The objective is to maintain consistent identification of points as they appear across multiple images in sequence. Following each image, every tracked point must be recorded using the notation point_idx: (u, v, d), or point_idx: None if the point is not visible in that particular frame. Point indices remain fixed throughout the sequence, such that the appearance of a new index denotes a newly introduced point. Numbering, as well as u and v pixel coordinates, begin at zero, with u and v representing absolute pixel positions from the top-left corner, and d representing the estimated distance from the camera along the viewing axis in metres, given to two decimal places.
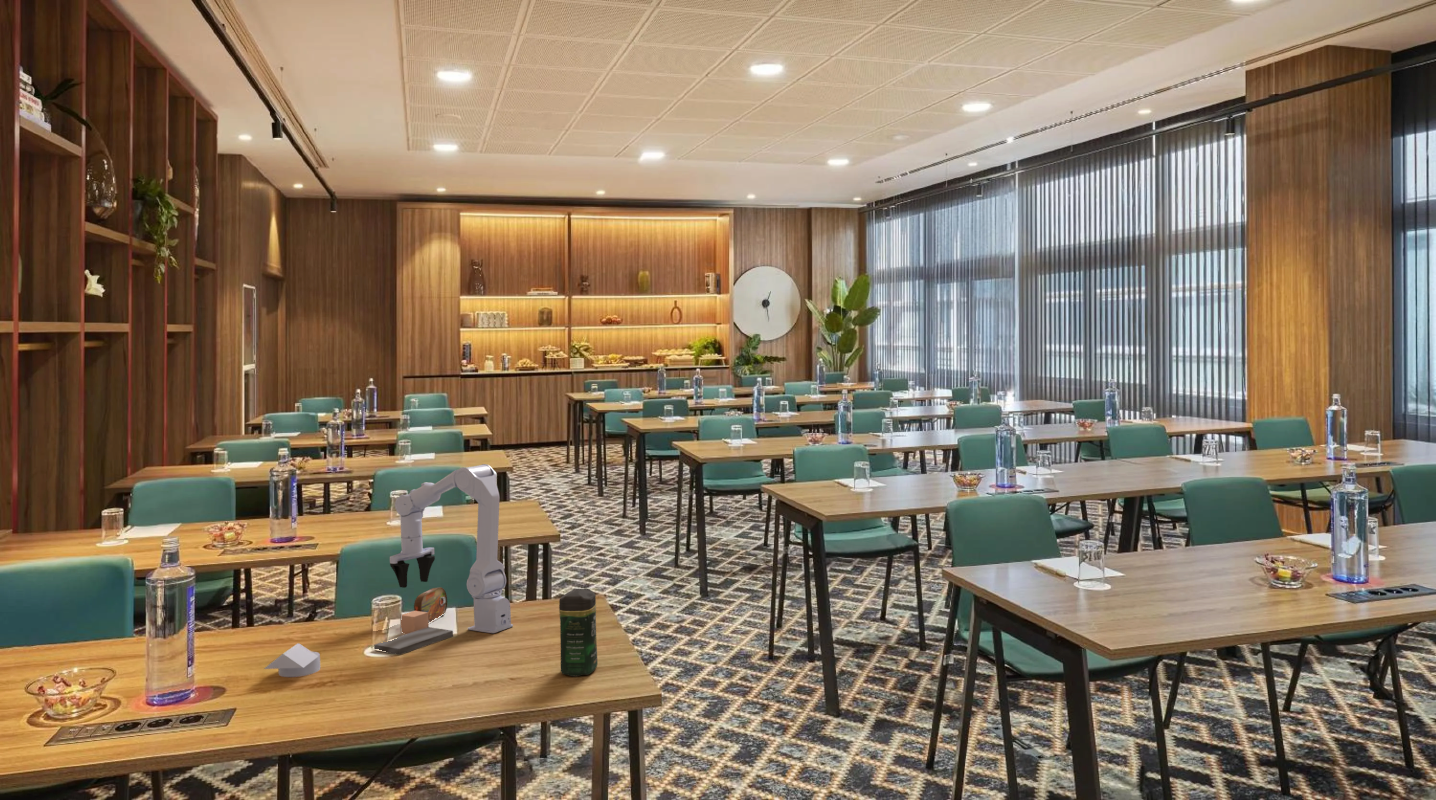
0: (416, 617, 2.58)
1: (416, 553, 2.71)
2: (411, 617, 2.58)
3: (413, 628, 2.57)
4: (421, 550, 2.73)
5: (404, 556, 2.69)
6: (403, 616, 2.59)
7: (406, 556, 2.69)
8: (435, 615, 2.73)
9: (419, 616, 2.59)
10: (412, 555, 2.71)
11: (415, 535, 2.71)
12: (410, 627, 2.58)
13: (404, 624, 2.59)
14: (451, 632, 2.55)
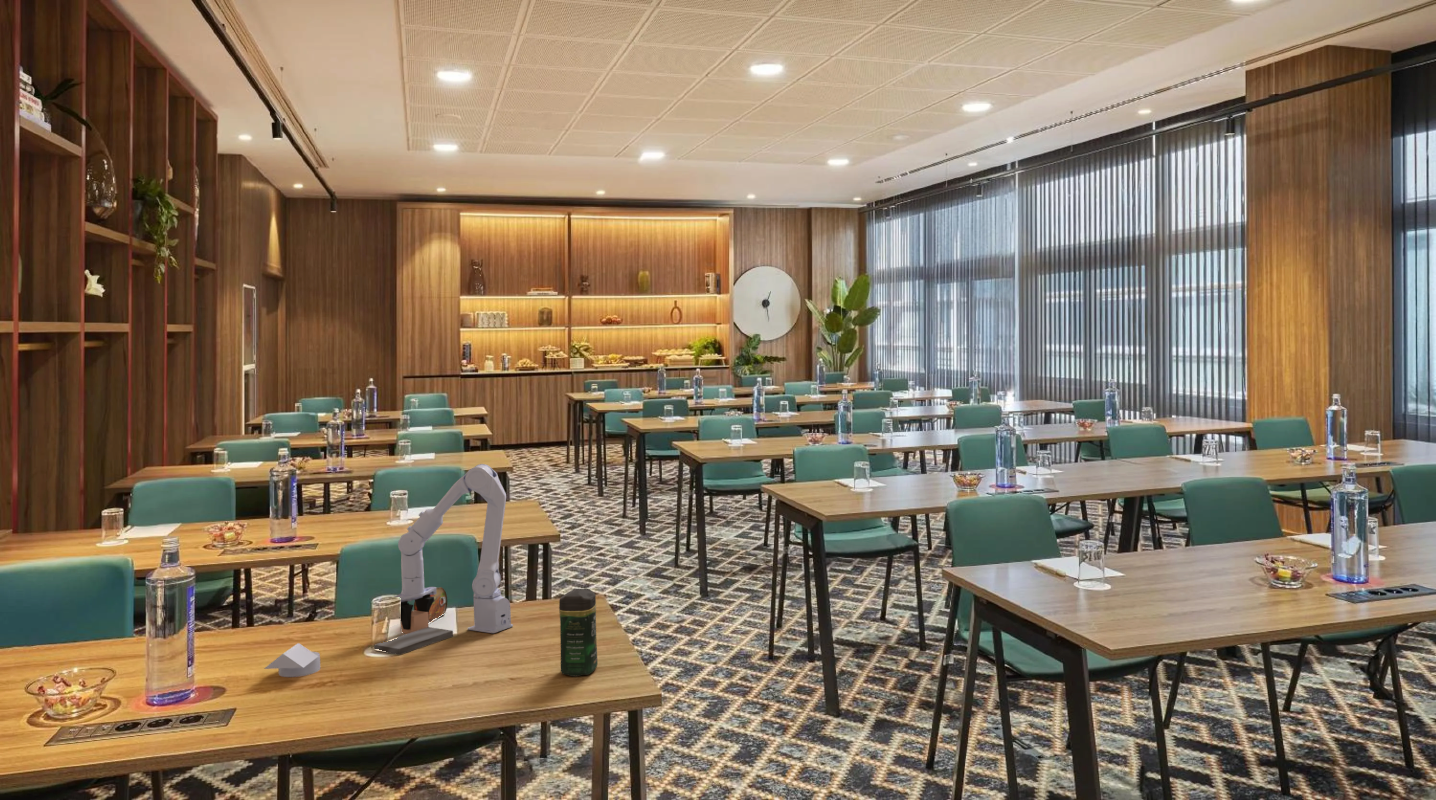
0: (416, 617, 2.58)
1: (417, 594, 2.58)
2: (411, 617, 2.58)
3: (413, 628, 2.57)
4: (423, 591, 2.60)
5: (405, 598, 2.56)
6: None
7: (407, 598, 2.56)
8: (435, 615, 2.73)
9: (419, 616, 2.59)
10: (413, 596, 2.57)
11: (421, 574, 2.59)
12: None
13: None
14: (451, 632, 2.55)
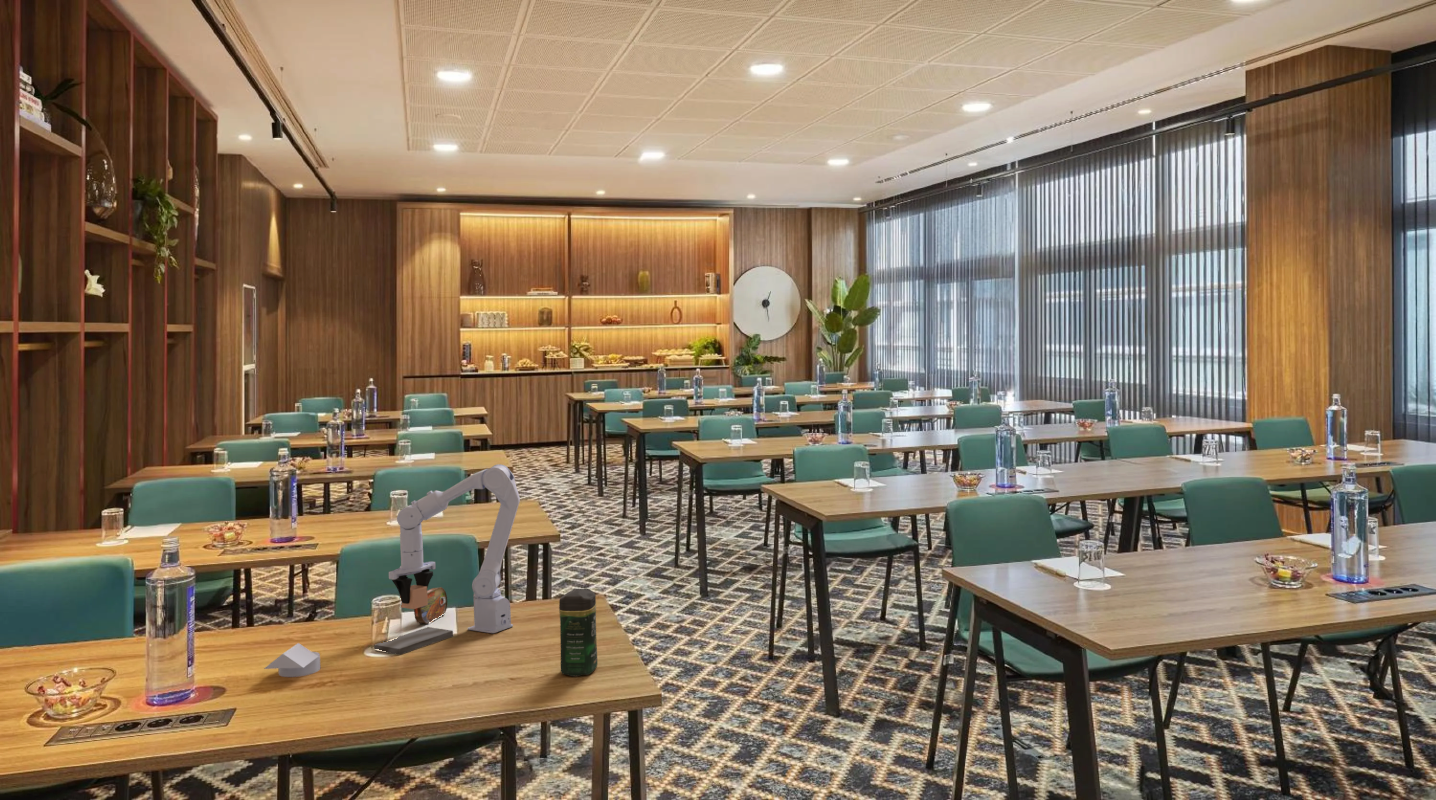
0: (415, 591, 2.58)
1: (416, 568, 2.58)
2: (410, 591, 2.57)
3: (412, 602, 2.57)
4: (422, 565, 2.60)
5: (404, 571, 2.56)
6: None
7: (406, 571, 2.56)
8: (435, 615, 2.73)
9: (418, 590, 2.59)
10: (412, 570, 2.57)
11: (420, 548, 2.59)
12: None
13: None
14: (451, 632, 2.55)
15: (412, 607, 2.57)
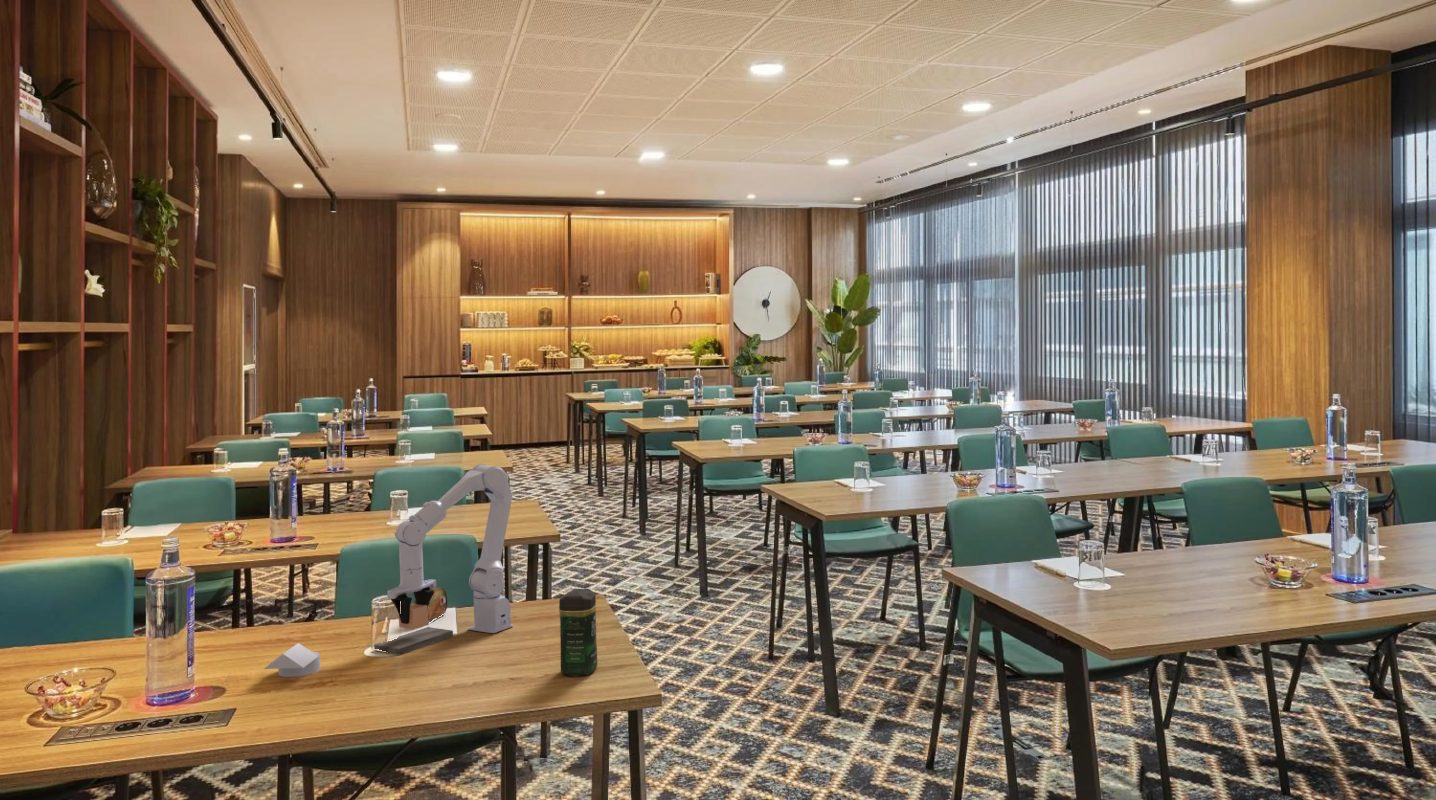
0: (415, 610, 2.47)
1: (416, 587, 2.47)
2: None
3: (412, 622, 2.46)
4: (422, 583, 2.48)
5: (403, 590, 2.44)
6: None
7: (405, 590, 2.45)
8: (435, 615, 2.73)
9: (418, 609, 2.48)
10: (412, 589, 2.46)
11: None
12: (409, 620, 2.47)
13: None
14: (451, 632, 2.55)
15: (412, 627, 2.46)
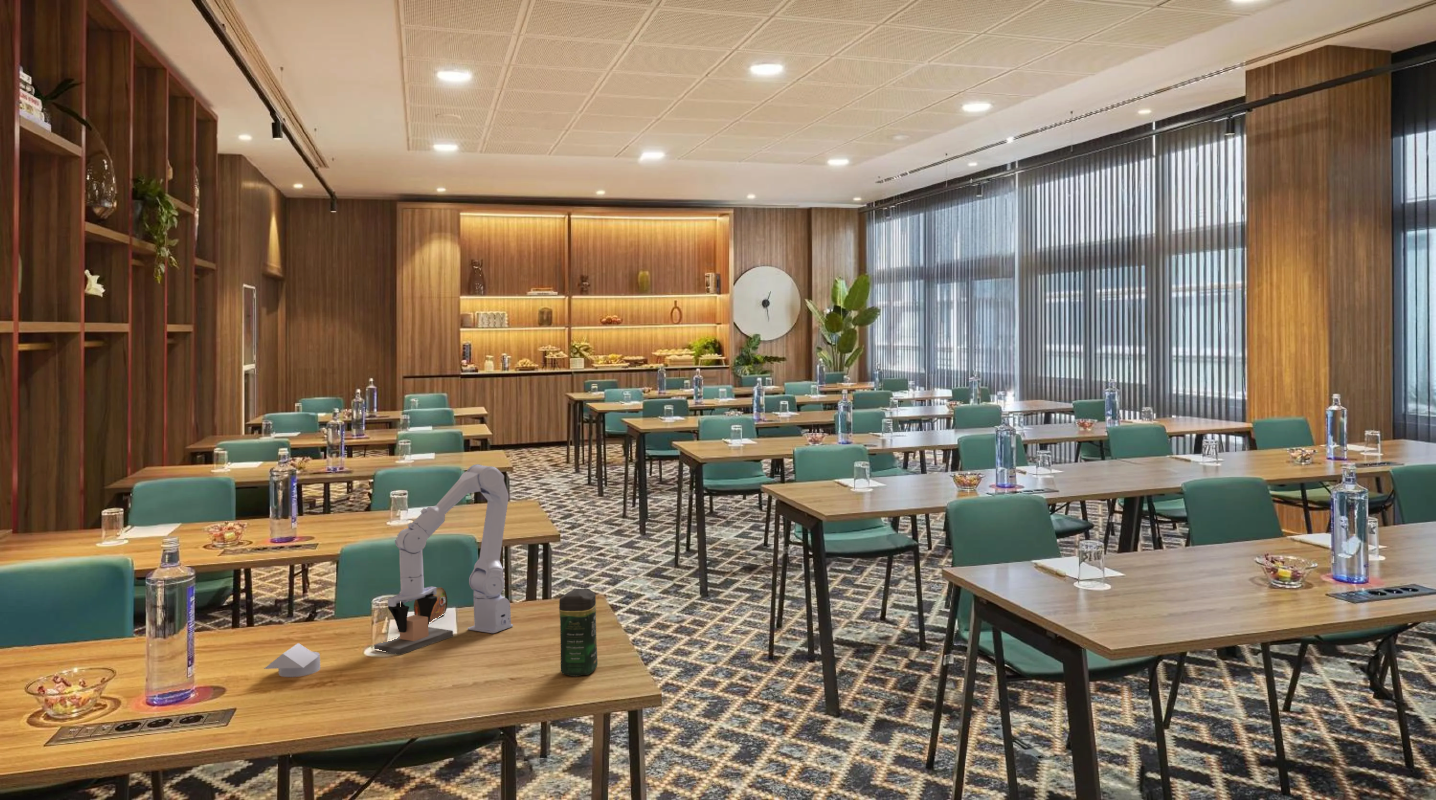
0: (415, 622, 2.47)
1: (417, 594, 2.47)
2: (410, 622, 2.46)
3: (412, 633, 2.46)
4: (422, 591, 2.49)
5: (404, 598, 2.45)
6: None
7: (406, 598, 2.45)
8: (435, 615, 2.73)
9: (418, 621, 2.48)
10: (412, 597, 2.46)
11: None
12: (409, 632, 2.47)
13: None
14: (451, 632, 2.55)
15: (412, 639, 2.46)
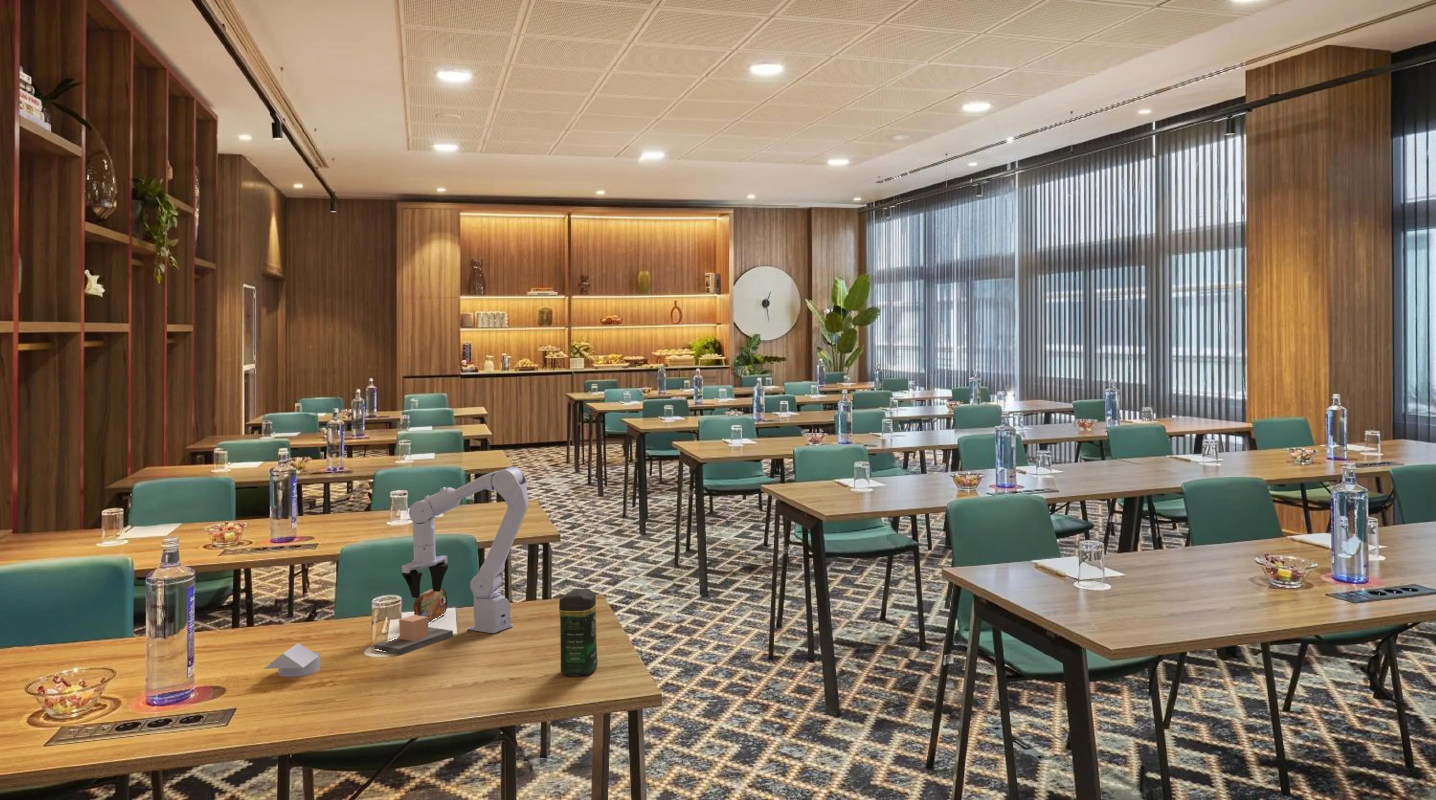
0: (415, 622, 2.47)
1: (429, 562, 2.61)
2: (410, 622, 2.46)
3: (412, 633, 2.46)
4: (434, 559, 2.62)
5: (417, 565, 2.58)
6: (402, 621, 2.48)
7: (419, 565, 2.59)
8: (435, 615, 2.73)
9: (418, 621, 2.48)
10: (425, 564, 2.60)
11: (432, 542, 2.61)
12: (409, 632, 2.47)
13: (403, 629, 2.48)
14: (451, 632, 2.55)
15: (412, 639, 2.46)
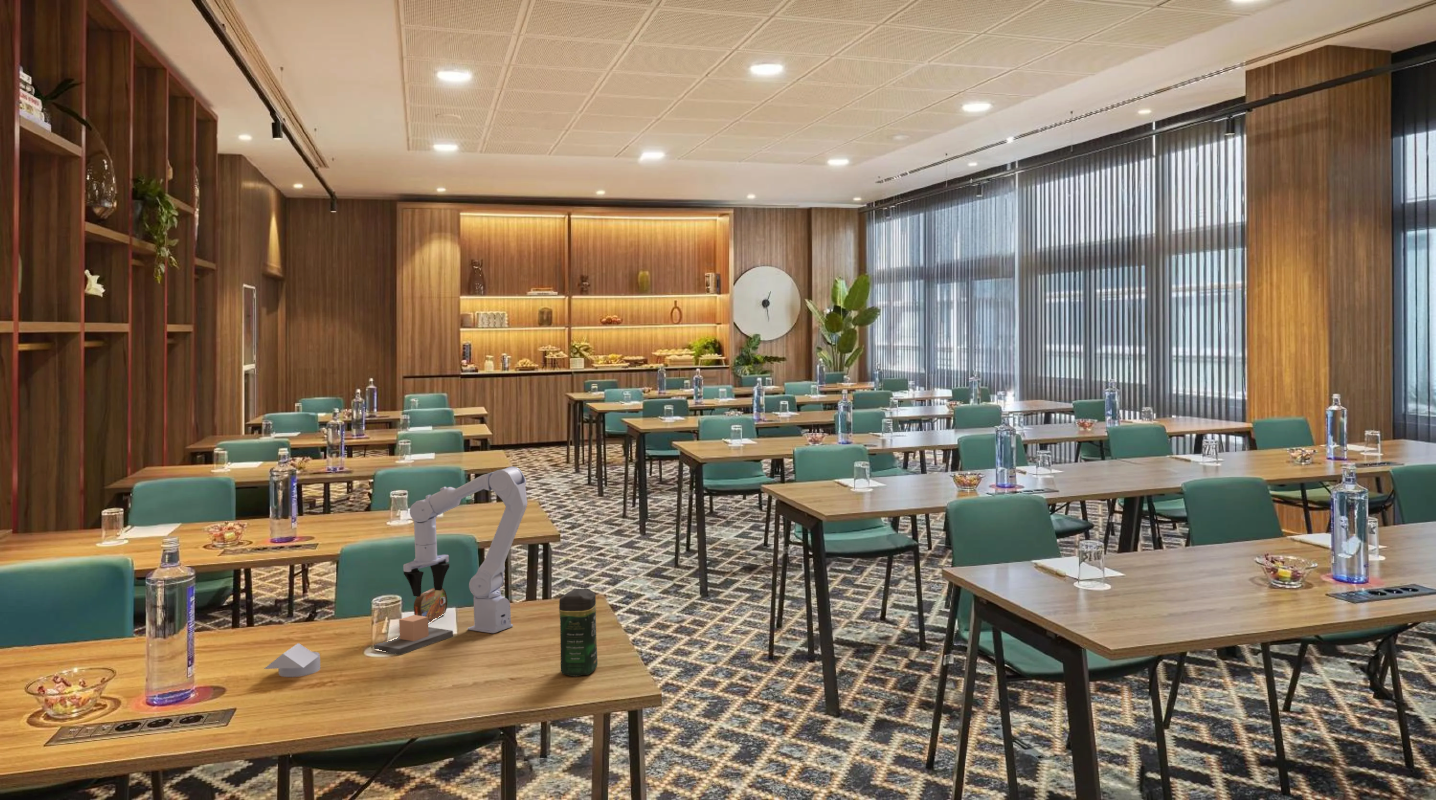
0: (415, 622, 2.47)
1: (430, 561, 2.62)
2: (410, 622, 2.46)
3: (412, 633, 2.46)
4: (435, 558, 2.64)
5: (418, 564, 2.60)
6: (402, 621, 2.48)
7: (420, 564, 2.60)
8: (435, 615, 2.73)
9: (418, 621, 2.48)
10: (426, 563, 2.61)
11: (432, 542, 2.63)
12: (409, 632, 2.47)
13: (403, 629, 2.48)
14: (451, 632, 2.55)
15: (412, 639, 2.46)
